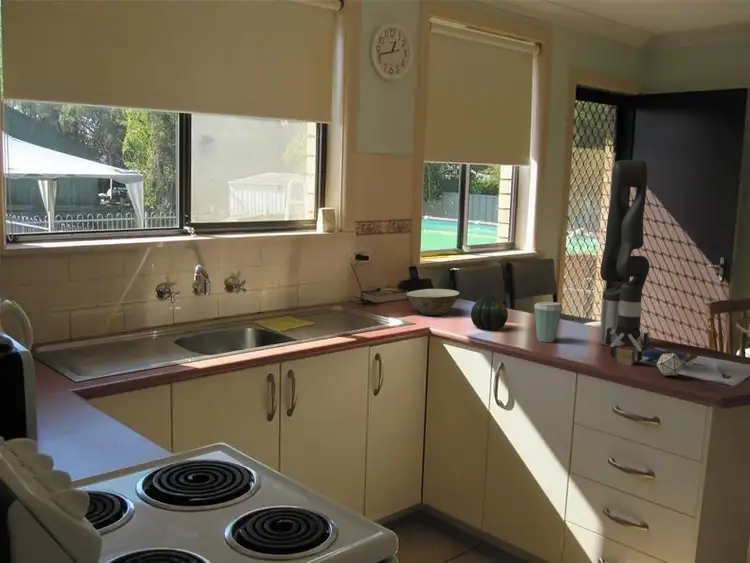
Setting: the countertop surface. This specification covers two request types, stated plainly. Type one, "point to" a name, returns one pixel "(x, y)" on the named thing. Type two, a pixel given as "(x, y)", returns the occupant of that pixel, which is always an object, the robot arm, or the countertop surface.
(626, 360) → the walnut block
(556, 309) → the disposable coffee cup
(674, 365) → the game die
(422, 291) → the bowl
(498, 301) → the squash
